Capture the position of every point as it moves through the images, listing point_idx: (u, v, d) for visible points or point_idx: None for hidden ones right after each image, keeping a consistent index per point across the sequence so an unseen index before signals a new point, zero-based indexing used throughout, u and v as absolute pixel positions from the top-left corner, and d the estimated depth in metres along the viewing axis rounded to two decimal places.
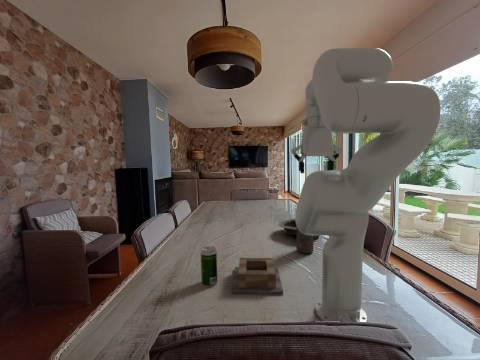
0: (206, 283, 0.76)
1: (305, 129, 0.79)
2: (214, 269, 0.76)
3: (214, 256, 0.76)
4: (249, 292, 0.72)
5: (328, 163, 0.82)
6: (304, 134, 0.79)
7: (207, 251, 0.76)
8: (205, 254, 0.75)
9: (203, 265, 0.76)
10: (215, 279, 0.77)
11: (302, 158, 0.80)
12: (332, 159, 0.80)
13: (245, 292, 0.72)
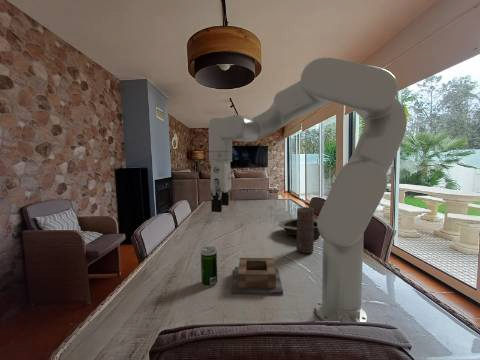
0: (206, 283, 0.76)
1: (222, 163, 0.71)
2: (214, 269, 0.76)
3: (214, 256, 0.76)
4: (249, 292, 0.72)
5: (222, 196, 0.82)
6: (222, 169, 0.71)
7: (207, 251, 0.76)
8: (205, 254, 0.75)
9: (203, 265, 0.76)
10: (215, 280, 0.77)
11: (220, 195, 0.72)
12: (227, 192, 0.82)
13: (245, 292, 0.72)
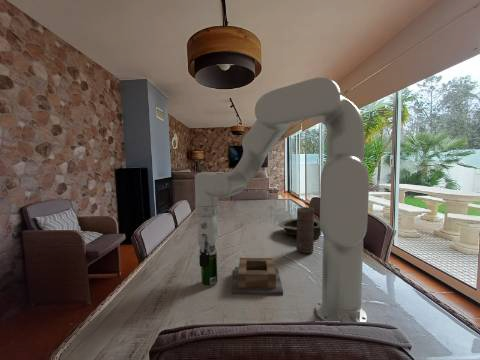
0: (206, 283, 0.76)
1: (210, 219, 0.72)
2: (214, 269, 0.76)
3: (214, 256, 0.76)
4: (249, 292, 0.72)
5: None
6: (210, 224, 0.72)
7: None
8: None
9: None
10: (215, 280, 0.77)
11: (208, 250, 0.73)
12: None
13: (245, 292, 0.72)
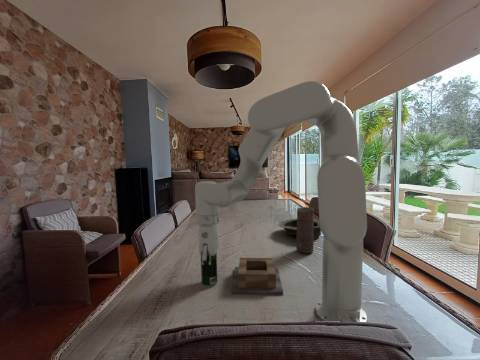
0: (206, 283, 0.76)
1: (211, 228, 0.72)
2: (214, 269, 0.76)
3: (214, 256, 0.76)
4: (249, 292, 0.72)
5: None
6: (211, 234, 0.72)
7: None
8: None
9: None
10: (215, 279, 0.77)
11: (210, 260, 0.75)
12: None
13: (245, 292, 0.72)
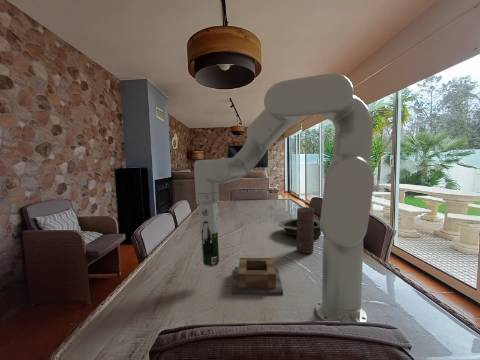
0: (208, 263, 0.75)
1: (211, 206, 0.72)
2: (215, 248, 0.75)
3: (215, 235, 0.75)
4: (249, 292, 0.72)
5: None
6: (211, 211, 0.72)
7: None
8: None
9: None
10: (217, 259, 0.76)
11: None
12: None
13: (245, 292, 0.72)
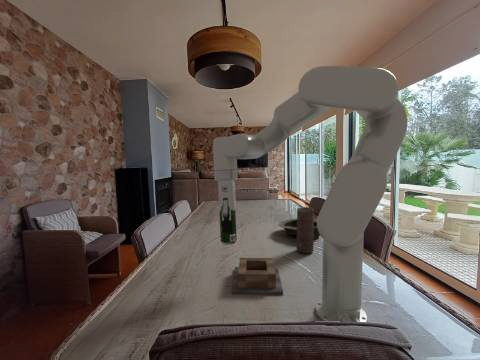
0: (226, 240, 0.75)
1: (230, 182, 0.72)
2: (233, 226, 0.75)
3: (233, 213, 0.75)
4: (249, 292, 0.72)
5: None
6: (231, 188, 0.71)
7: None
8: None
9: None
10: (235, 237, 0.76)
11: None
12: None
13: (245, 292, 0.72)
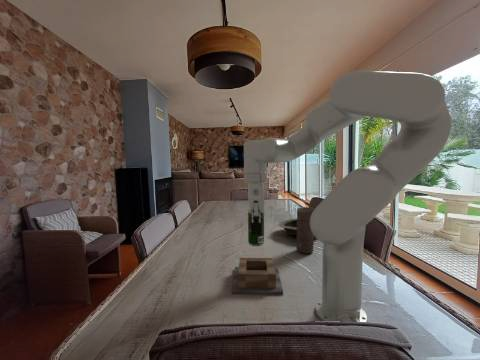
0: (254, 242, 0.76)
1: (261, 185, 0.72)
2: (262, 228, 0.76)
3: (262, 215, 0.76)
4: (249, 292, 0.72)
5: None
6: (261, 191, 0.72)
7: None
8: None
9: None
10: (262, 239, 0.77)
11: None
12: None
13: (245, 292, 0.72)
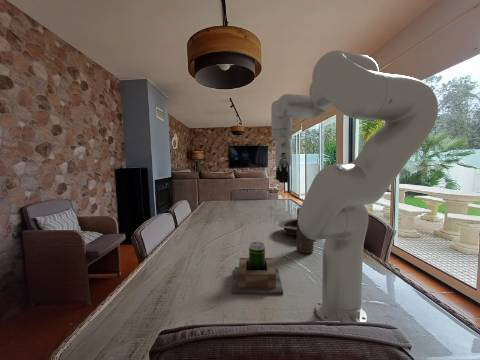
0: None
1: (288, 139, 0.81)
2: (263, 264, 0.77)
3: (263, 251, 0.77)
4: (249, 292, 0.72)
5: (279, 171, 0.91)
6: (288, 144, 0.81)
7: (256, 246, 0.77)
8: (255, 249, 0.76)
9: (252, 260, 0.77)
10: None
11: None
12: None
13: (245, 292, 0.72)
